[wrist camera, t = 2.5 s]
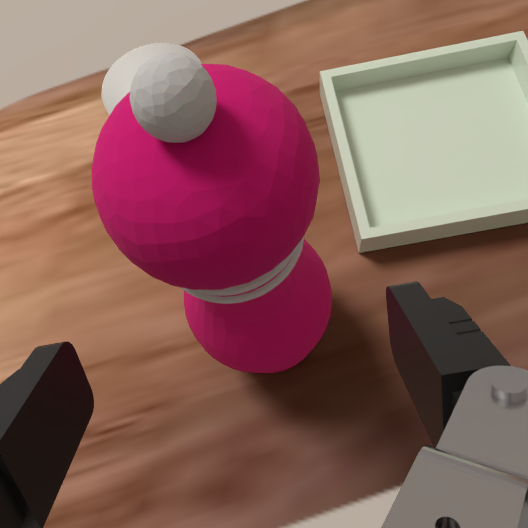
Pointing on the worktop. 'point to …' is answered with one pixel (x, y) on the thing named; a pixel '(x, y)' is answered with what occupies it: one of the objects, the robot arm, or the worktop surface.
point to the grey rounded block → (133, 70)
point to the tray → (432, 141)
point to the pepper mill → (218, 206)
